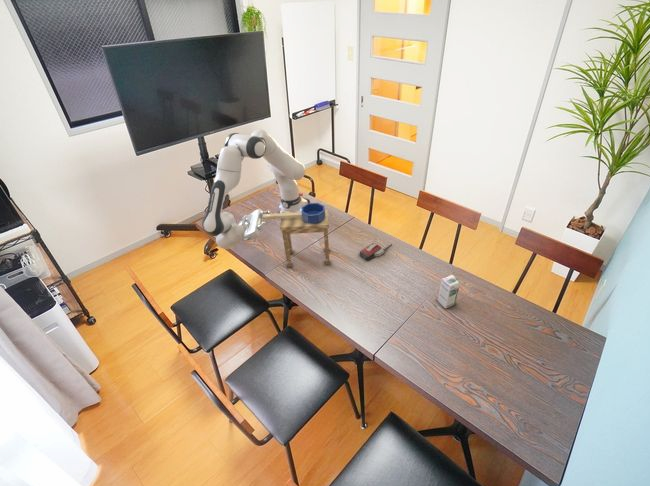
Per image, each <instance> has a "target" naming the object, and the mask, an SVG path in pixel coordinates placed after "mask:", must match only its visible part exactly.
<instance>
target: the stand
mask: <svg viewBox="0 0 650 486" xmlns="http://www.w3.org/2000/svg"><path fill="white" fill-rule="evenodd" d="M328 211H329V210H328V209H326V208H325V219H324V220H323V221H322V222H320V223H316V224H309V223H306V222H305V221H304V220H303V219H302V217H301V218H282V219H280V223H279V224H280V225H279V230H280V231H281V235H282V242H283V247H284V253H285V254H284V255H285V260H286V266H287V268H292V266H293V264H292V258H291V255H292V254H293V252H294V251H293V244H292V236H291V235H297V234H313V233H315V234H316V233H323V240H324V242H323V244H324V256H325V257H324V259H325V266H330V263H331V262H330V245H329V228H330V226H329V225H330V224H329V212H328ZM294 212H301V211H286V212H282V213H294Z"/></svg>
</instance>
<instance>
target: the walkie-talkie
mask: <svg viewBox="0 0 650 486" xmlns="http://www.w3.org/2000/svg"><path fill="white" fill-rule="evenodd" d="M390 247H393V244H392V243H390V244H389V245H388V246H386V247H384V248H382V246H380V245H378V243H376V242H372V243H371V244H369V245H368V246H366V247H364V248H363V249H361V250H359V256H360V257H361V258H363V259H364V260H365V261H369V260H371V259H373V258H374V257H380V256H382V255H383V254H385V251H387V250H388V249H389V248H390Z"/></svg>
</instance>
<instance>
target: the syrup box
mask: <svg viewBox="0 0 650 486" xmlns="http://www.w3.org/2000/svg"><path fill="white" fill-rule="evenodd" d="M460 285H461V281H460V280H459V279H458V278H457V277H456V276H454V275H453V274H450V275H448V276H445V277H443V278H441V282H440V285H439V291H438V296H437V302H438V303H439V304H440V305H441V306H442V307H443V308H444V309H447V308H451V307H453V306H454V305H456V301H457V297H458V294H459V290H460Z"/></svg>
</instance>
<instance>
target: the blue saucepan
mask: <svg viewBox="0 0 650 486" xmlns="http://www.w3.org/2000/svg"><path fill="white" fill-rule="evenodd" d="M325 209H326V207H325V205H324V204H321V203H320V202H310V203H308V204H306V205H304V206H303V207H302V210H301V212H294V213H280V212H279V213H278V212H277V213H276V212H275V213H269V214H263V216H262V218H263V221H265V220H281V219H282V218H301V217H302V219H303V220H304V221H305V222H306V223H309V224H316V223H320V222H322V221H323V220H324V219H325Z"/></svg>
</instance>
